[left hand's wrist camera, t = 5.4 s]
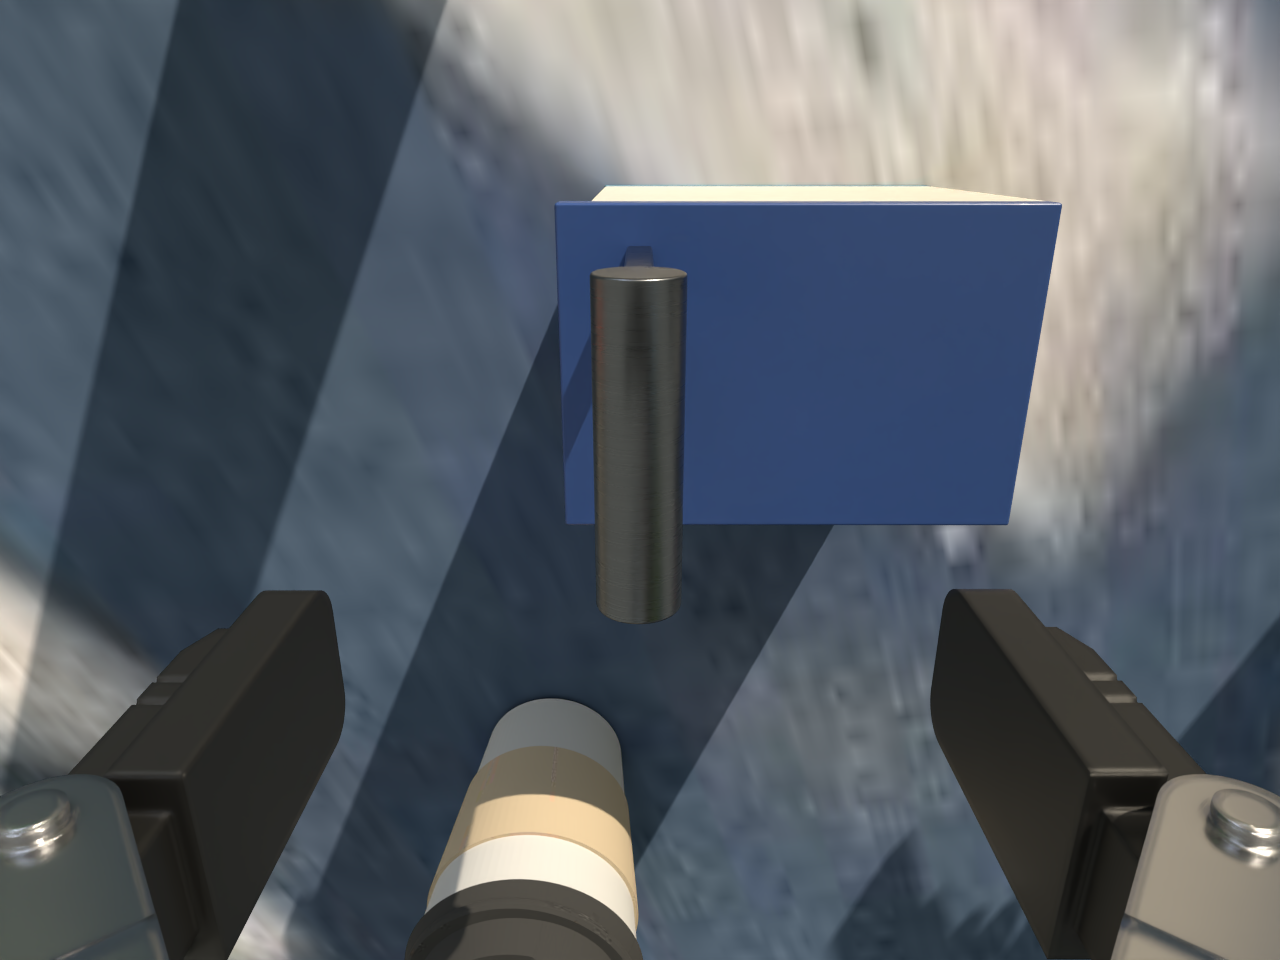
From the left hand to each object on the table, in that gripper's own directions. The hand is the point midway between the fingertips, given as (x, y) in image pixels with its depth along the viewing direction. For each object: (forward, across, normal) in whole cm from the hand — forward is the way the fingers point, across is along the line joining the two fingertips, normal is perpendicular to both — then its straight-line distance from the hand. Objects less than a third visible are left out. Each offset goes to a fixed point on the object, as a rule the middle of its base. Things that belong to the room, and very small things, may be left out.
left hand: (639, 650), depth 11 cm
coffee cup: (+27, -4, -23) cm, 35 cm away
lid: (+16, +5, 0) cm, 16 cm away
